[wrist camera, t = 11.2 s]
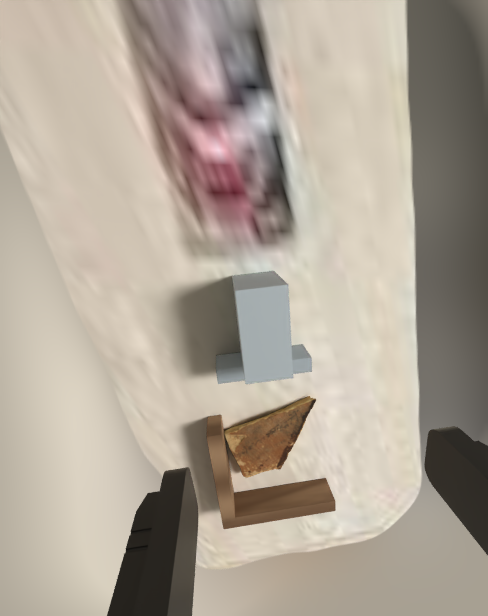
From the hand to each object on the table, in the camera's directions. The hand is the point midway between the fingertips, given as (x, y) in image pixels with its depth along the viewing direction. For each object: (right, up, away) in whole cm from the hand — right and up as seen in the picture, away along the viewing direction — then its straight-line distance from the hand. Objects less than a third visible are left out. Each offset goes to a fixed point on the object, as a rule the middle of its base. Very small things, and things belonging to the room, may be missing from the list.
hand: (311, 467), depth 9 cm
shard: (0, -8, +23) cm, 25 cm away
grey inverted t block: (-1, +5, +19) cm, 19 cm away
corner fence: (+1, -13, +24) cm, 27 cm away
